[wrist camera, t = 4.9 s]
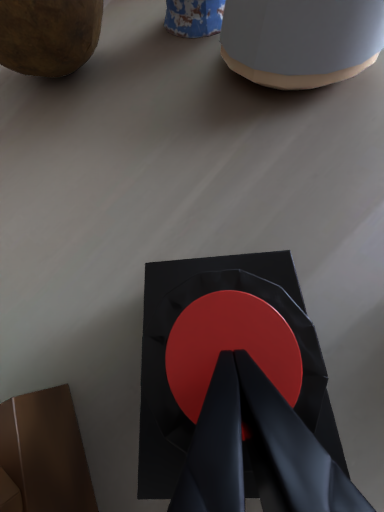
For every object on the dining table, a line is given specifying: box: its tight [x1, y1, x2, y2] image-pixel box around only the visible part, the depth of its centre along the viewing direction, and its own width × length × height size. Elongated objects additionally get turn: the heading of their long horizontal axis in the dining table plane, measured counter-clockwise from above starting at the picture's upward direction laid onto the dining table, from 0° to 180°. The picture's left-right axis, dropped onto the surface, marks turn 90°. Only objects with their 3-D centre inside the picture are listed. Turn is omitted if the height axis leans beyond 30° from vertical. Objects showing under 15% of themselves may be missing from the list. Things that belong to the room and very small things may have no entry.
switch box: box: [137, 250, 350, 499], centre depth 12 cm, size 11×9×6 cm
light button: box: [165, 290, 303, 441], centre depth 9 cm, size 5×5×2 cm
